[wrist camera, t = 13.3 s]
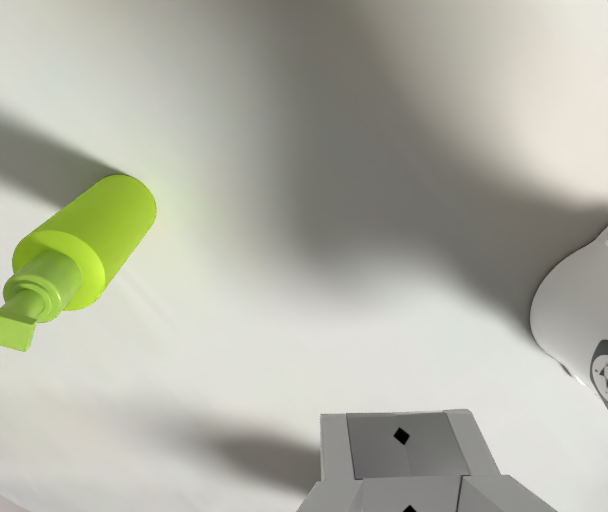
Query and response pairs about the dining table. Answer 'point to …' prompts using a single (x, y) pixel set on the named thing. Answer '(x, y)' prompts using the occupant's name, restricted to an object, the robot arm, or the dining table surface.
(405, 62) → the dining table surface
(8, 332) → the soap dispenser
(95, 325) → the dining table surface
